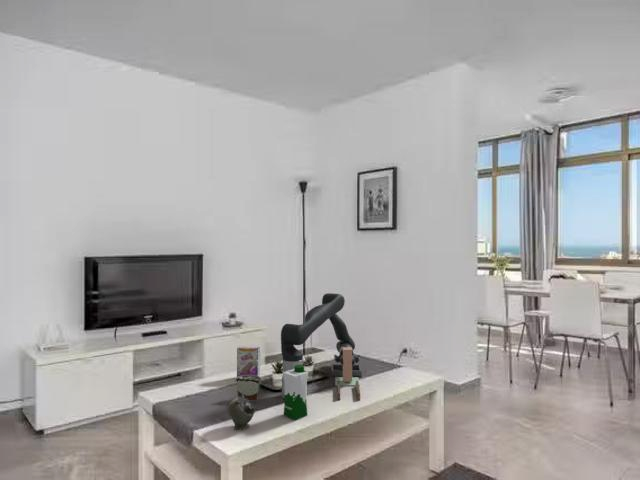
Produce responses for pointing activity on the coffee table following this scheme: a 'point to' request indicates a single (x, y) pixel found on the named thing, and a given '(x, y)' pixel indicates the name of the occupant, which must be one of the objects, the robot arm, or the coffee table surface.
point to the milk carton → (295, 392)
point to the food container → (248, 386)
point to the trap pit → (338, 370)
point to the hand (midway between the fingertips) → (347, 362)
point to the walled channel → (356, 390)
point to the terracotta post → (347, 364)
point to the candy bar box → (248, 360)
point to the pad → (346, 382)
